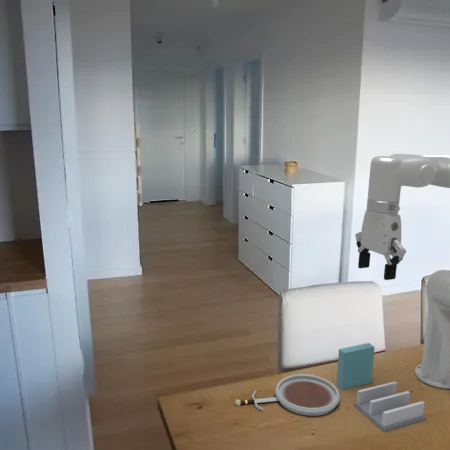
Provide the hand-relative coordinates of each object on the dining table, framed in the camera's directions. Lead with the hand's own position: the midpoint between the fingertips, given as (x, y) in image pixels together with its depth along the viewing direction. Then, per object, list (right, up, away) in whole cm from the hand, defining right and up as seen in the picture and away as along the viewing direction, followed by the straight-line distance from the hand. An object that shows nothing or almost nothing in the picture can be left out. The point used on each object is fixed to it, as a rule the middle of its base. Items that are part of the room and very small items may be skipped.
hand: (376, 273), depth 121 cm
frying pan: (-22, -34, +4) cm, 41 cm away
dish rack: (+3, -35, -1) cm, 35 cm away
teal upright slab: (-2, -32, +12) cm, 34 cm away
